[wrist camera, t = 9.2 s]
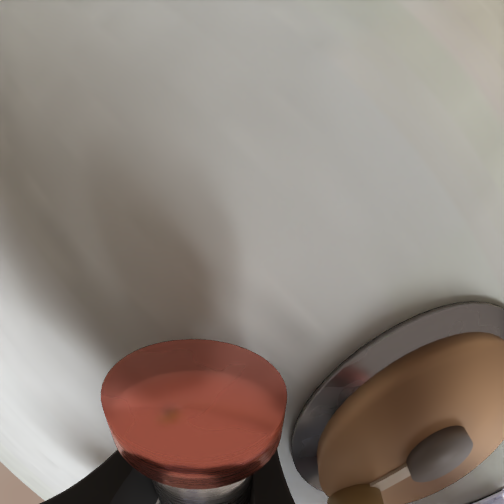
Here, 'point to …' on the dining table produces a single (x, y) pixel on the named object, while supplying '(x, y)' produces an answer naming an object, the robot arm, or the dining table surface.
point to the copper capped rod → (195, 418)
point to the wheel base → (375, 360)
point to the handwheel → (416, 423)
